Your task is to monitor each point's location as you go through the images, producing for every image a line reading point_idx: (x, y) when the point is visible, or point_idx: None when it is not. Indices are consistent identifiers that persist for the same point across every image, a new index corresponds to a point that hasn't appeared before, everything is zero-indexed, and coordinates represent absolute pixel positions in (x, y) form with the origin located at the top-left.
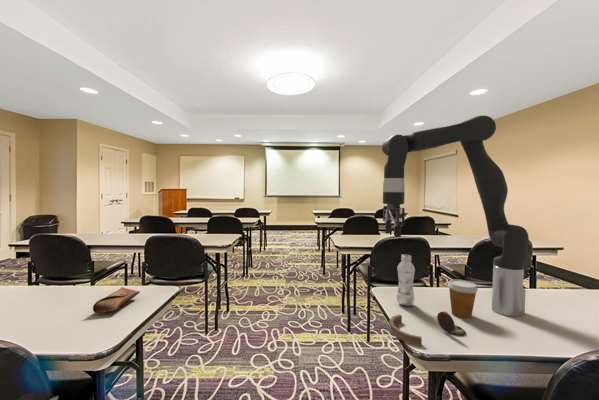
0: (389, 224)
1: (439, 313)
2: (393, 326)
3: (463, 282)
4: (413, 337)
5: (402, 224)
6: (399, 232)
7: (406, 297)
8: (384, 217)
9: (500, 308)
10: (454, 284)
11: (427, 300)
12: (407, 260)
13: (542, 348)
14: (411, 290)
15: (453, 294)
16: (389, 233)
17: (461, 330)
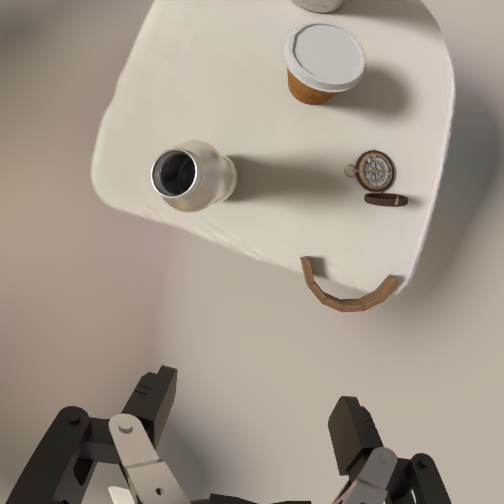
0: (156, 430)
1: (380, 205)
2: (346, 309)
3: (313, 36)
4: (389, 294)
5: (420, 466)
6: (369, 428)
7: (231, 190)
8: (92, 473)
9: (327, 6)
10: (334, 82)
11: (206, 99)
12: (201, 182)
13: (438, 81)
14: (229, 171)
15: (324, 93)
16: (176, 377)
17: (378, 156)
